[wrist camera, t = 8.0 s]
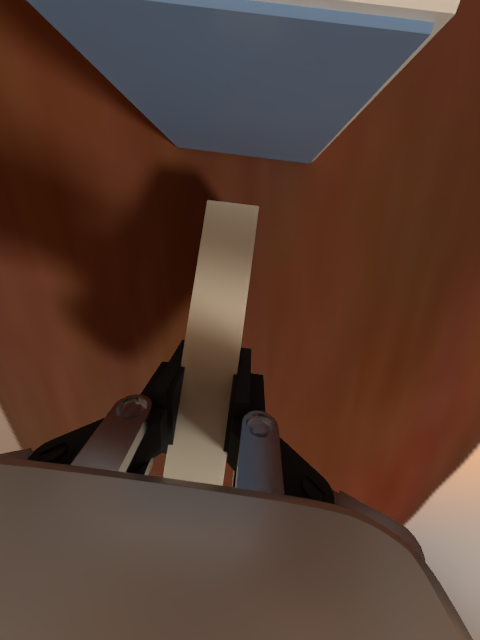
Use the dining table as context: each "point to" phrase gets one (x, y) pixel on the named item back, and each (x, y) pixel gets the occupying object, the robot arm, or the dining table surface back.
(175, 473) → the cream wooden plank
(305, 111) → the tile
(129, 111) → the dining table surface
